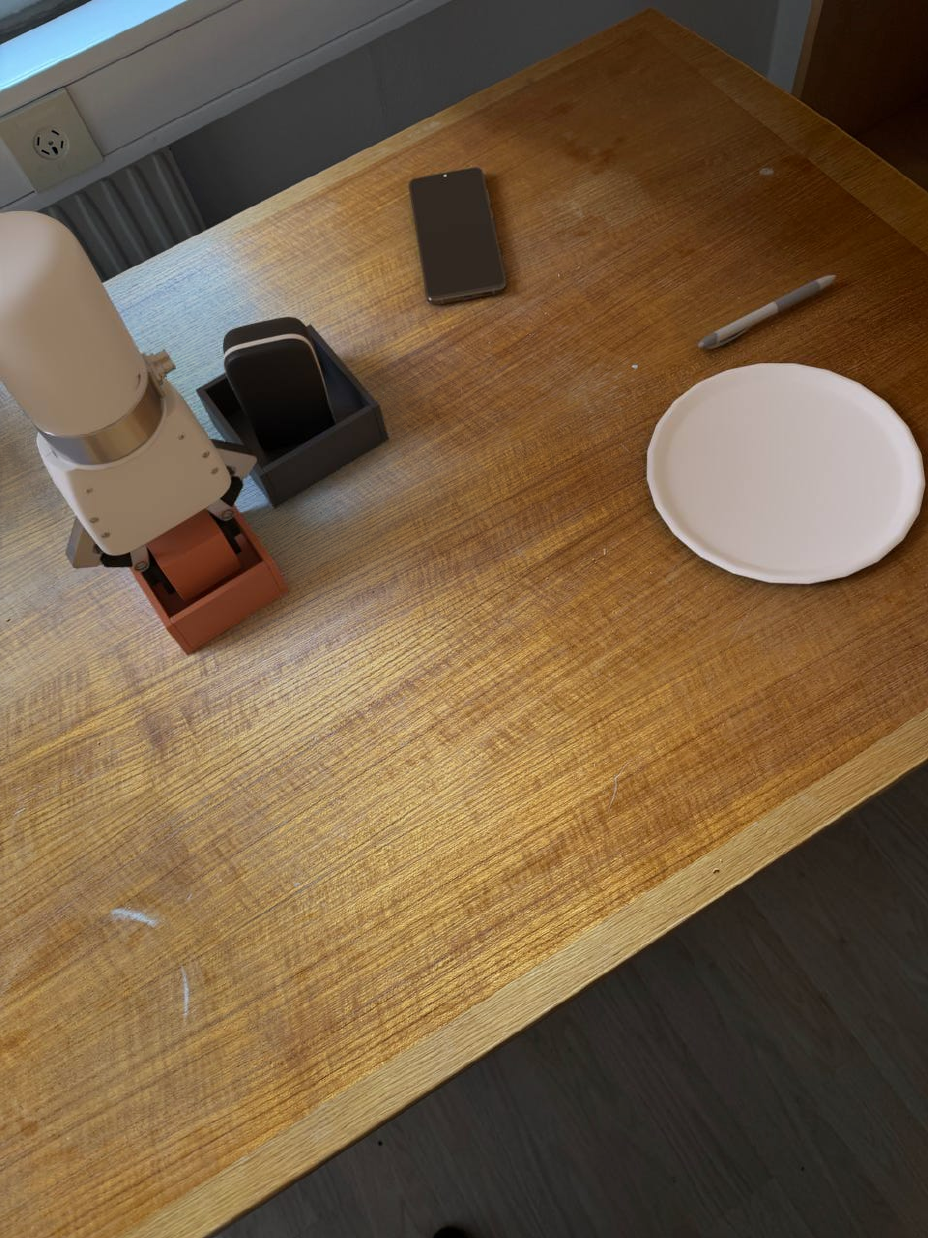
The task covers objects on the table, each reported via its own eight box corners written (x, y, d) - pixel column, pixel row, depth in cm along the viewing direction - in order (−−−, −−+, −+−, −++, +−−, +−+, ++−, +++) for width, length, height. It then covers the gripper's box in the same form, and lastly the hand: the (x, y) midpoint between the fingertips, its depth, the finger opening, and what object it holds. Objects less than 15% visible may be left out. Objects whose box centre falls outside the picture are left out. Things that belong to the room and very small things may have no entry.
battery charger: (335, 401, 88) (303, 302, 78) (341, 435, 87) (309, 339, 77) (255, 418, 88) (213, 322, 78) (259, 453, 87) (216, 360, 77)
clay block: (185, 602, 78) (160, 568, 73) (156, 557, 80) (131, 521, 75) (242, 567, 79) (222, 531, 74) (212, 523, 81) (191, 486, 76)
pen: (694, 349, 88) (695, 338, 86) (830, 280, 90) (833, 267, 88) (701, 357, 87) (702, 345, 86) (837, 287, 89) (841, 274, 88)
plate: (762, 641, 74) (764, 633, 73) (593, 451, 84) (593, 442, 83) (982, 498, 78) (987, 488, 77) (796, 332, 87) (799, 321, 86)
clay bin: (186, 655, 79) (165, 628, 75) (136, 572, 83) (113, 543, 79) (289, 590, 81) (274, 561, 77) (235, 513, 85) (217, 481, 81)
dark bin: (274, 509, 84) (259, 476, 81) (212, 423, 89) (194, 389, 85) (389, 439, 87) (379, 404, 83) (322, 359, 91) (310, 323, 88)
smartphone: (426, 301, 92) (407, 177, 99) (428, 309, 93) (408, 187, 100) (508, 286, 92) (482, 164, 99) (509, 295, 93) (483, 173, 100)
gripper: (193, 303, 66) (270, 471, 82) (-51, 438, 63) (78, 586, 79) (248, 374, 63) (317, 535, 79) (-7, 520, 60) (119, 656, 76)
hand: (197, 559), depth 79 cm, fingers closed on clay block, 5 cm apart
